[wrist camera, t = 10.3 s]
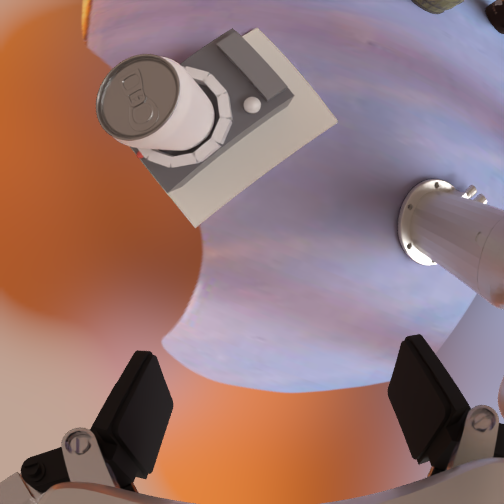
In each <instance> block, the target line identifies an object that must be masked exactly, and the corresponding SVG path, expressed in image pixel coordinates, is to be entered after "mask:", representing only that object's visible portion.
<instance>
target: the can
mask: <svg viewBox="0 0 504 504" xmlns="http://www.w3.org/2000/svg"><path fill="white" fill-rule="evenodd" d="M96 113H97V117H98V120H99V122H100V125H101V126H102V127H103V129H104V130H105V131H106V132H107V133H108V134H109V135H111V136H112V137H113V138H115V139H116V140H117V141H118V142H120V143H122V144H124V145H127V146H130V147H135V148H146V149H161V150H178V151H183V150H189V149H191V148H194V147H196V146H197V145H199V144H200V143H202V142H203V141H204V140H205V139H206V138H207V137H208V136H209V134H210V133H211V131H212V128H213V126H214V121H215V112H214V108H213V105H212V103H211V101H210V100H209V98H208V97H207V95H206V94H205V93H204V92H203V90H202V89H201V88H200V87H199V85H198V84H197V83H196V82H195V80H194V79H193V78H192V77H191V76H190V74H189V73H188V72H187V71H186V70H185V69H184V68H183V67H182V66H181V65H180V64H178V63H177V62H175V61H174V60H171V59H169V58H166V57H161V56H157V55H152V54H141V55H136V56H133V57H130V58H128V59H126V60H124V61H122V62H120V63H119V64H118V65H116V66H115V67H114V68H113V69H112V70H111V71H110V72H109V73H108V74H107V76H106V77H105V79H104V80H103V82H102V84H101V86H100V88H99V91H98V94H97V99H96Z"/></svg>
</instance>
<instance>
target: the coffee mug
mask: <svg viewBox="0 0 504 504" xmlns="http://www.w3.org/2000/svg"><path fill="white" fill-rule="evenodd" d="M485 12H486V15H487V17H488V19H489V21H490V22H491V24H492V25H493V26H494V28H495V29H496V30H497V31H498V32H500V33H501V34H504V0H496V1H495V2H493V3H492V4H490V5H489V6H488V7H486V8H485Z"/></svg>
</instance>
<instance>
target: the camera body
mask: <svg viewBox="0 0 504 504" xmlns="http://www.w3.org/2000/svg"><path fill="white" fill-rule="evenodd" d="M180 65H181V66H182V67H183V68H184V69H185V70H186V71H187V72H188V73H189V74H190V76H191V77H192V78H193V79H194V80H195V82H196V83H197V84H198V85H199V87H200V88H201V89H202V90H203V92H204V93H205V94H206V95H207V97H208V98H209V100H210V101H211V103H212V105H213V108H214V112H215V121H214V126H213V128H212V131H211V133H210V134H209V136H208V137H207V138H206V139H205V140H204V141H203V142H202V143H200V144H199V145H197V146H196V147H194V148H191V149H189V150H183V151H178V150H161V149H146V148H135V147H131V148H132V150H133V151H134V152H135V153H136V155H137V157H138V158H140V160H141V161H142V162H143V163H144V165H145V166H146V167H147V169H148V170H149V171H150V172H151V174H152V175H153V176H154V177H155V179H156V180H157V181H158V182H159V184H160V185H161V186H162V187H163V189H164V190H165V191H166V192H167V193H169V192H171V191H174V190H176V189H178V188H181V187H182V186H184V185H185V184H186V183H187V182H188V181H189V180H191V179H192V178H193V177H194V176H195V175H197V174H198V173H199V172H200V171H201V170H203V169H204V168H205V167H206V166H208V165H209V164H210V163H211V162H213V161H214V160H215V159H216V158H218V157H219V156H220V155H221V154H223V153H224V152H225V151H227V150H228V149H229V148H230V147H232V146H233V145H234V144H236V143H237V142H238V141H240V140H241V139H242V138H244V137H245V136H246V135H248V134H249V133H250V132H252V131H253V130H254V129H256V128H257V127H259V126H260V125H261V124H263V123H264V122H266V121H267V120H268V119H270V118H271V117H273V116H274V115H276V114H277V113H279V112H280V111H281V110H283V109H284V108H286V107H287V106H288V105H289V103H290V102H291V100H292V99H293V97H294V94H293V93H292V92H291V91H290V89H289V88H288V86H287V85H286V84H285V83H284V81H283V80H282V79H281V78H280V77H279V76H278V75H277V73H276V72H275V71H274V70H273V69H272V68H271V67H270V66H269V64H268V63H267V62H266V61H265V60H264V59H263V58H262V57H261V56H260V55H259V54H258V53H257V52H256V51H255V50H254V48H253V47H252V46H251V45H250V44H249V43H248V42H247V41H246V40H245V39H244V38H243V37H242V36H241V35H240V34H239V33H238V32H237V31H235V30H234V29H233V28H232V29H230V30H229V31H227V32H226V33H224V34H222V35H221V36H219V37H218V38H216V39H215V40H213V41H212V42H210V43H209V44H207V45H206V46H204V47H203V48H202V49H200V50H199V51H197V52H196V53H195V54H193V55H192V56H190V57H189V58H188V59H186V60H185V61H184V62H182V63H181V64H180Z"/></svg>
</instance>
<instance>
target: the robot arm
mask: <svg viewBox="0 0 504 504" xmlns="http://www.w3.org/2000/svg"><path fill="white" fill-rule="evenodd" d="M476 192H477V190H476V188H475V187H474V186H473V185H471V186H469V187H468V188H467V189H466V191H465V192H459V191H457V190H456V189H455V188H454V187H453V186H452V185H451V184H450V183H448V182H446V181H443V180H439V179H429V180H425V181H423V182H421V183H419V184H417V185H416V186H415V187H414V188H413V189H412V190H411V191H410V192H409V193H408V195H407V196H406V198H405V200H404V202H403V204H402V207H401V209H400V214H399V218H398V235H399V240H400V243H401V246H402V248H403V250H404V251H405V253H406V254H407V255H408V256H409V257H410V258H411V259H412V260H414V261H415V262H417V263H419V264H422V265H428V266H429V265H435V264H438V265H440V266H441V267H442V268H444V269H445V270H447V271H448V272H449V273H451V274H452V275H454V276H455V277H456V278H458V279H459V280H460V281H462V282H463V283H464V284H466V285H467V286H468V287H470V288H471V289H472V290H474V291H475V292H476V293H478V294H479V295H480V296H481V297H483V298H484V299H486V300H487V301H488V302H489V303H491V304H492V305H493V306H495V307H497V308H500V309H504V210H502V209H499V208H496V207H493V206H490V205H487V200H486V198H485V197H484V196H483V195H482V194H479V195H478V196H477V197H476V198H475V199H474V200H471V199H470V198H471V197H472V196H474V195H475V194H476ZM388 397H389V399H390V401H391V404H392V406H393V409H394V411H395V413H396V416H397V419H398V421H399V424H400V426H401V428H402V431H403V433H404V436H405V439H406V442H407V444H408V447H409V450H410V452H411V455H412V457H413V458H414V459H417V462H418V464H422V463H425V462H427V461H430V463H431V466H432V467H431V469H430V471H429V474H428V476H427V478H425V479H422V480H419V481H416V482H413V483H410V484H407V485H403V486H400V487H397V488H394V489H390V490H387V491H383V492H379V493H375V494H371V495H367V496H362V497H358V498H353V499H348V500H342V501H336V502H329V503H323V504H504V424H501V423H499V418H498V415H497V413H496V411H495V410H494V409H492V408H491V407H489V406H486V405H478V406H475V407H474V408H472V409H471V408H470V406H469V404H468V403H467V401H466V399H465V398H464V396H463V395H462V393H461V392H460V390H459V388H458V387H457V385H456V384H455V383H454V381H453V379H452V378H451V377H450V375H449V373H448V372H447V370H446V369H445V368H444V366H443V365H442V363H441V362H440V360H439V359H438V357H437V356H436V355H435V353H434V352H433V350H432V349H431V348H430V346H429V345H428V343H427V342H426V341H425V339H424V338H423V337H422V335H420V334H418V335H413V336H408V337H406V338H405V341H402V343H401V346H400V350H399V353H398V357H397V361H396V364H395V368H394V371H393V374H392V378H391V381H390V384H389V387H388ZM498 406H499V410H500V412H501V415H502V417H503V418H504V377H503V380H502V382H501V385H500V388H499V393H498ZM172 409H173V400H172V398H171V395H170V392H169V390H168V387H167V384H166V382H165V380H164V377H163V374H162V371H161V368H160V365H159V362H158V360H157V357H156V356H155V355H153V354H152V353H151V352H150V351H136V352H135V353H134V355H133V356H132V358H131V360H130V361H129V363H128V365H127V366H126V368H125V370H124V372H123V373H122V375H121V377H120V378H119V380H118V382H117V383H116V384H115V386H114V388H113V389H112V391H111V393H110V395H109V396H108V398H107V400H106V402H105V404H104V405H103V407H102V409H101V411H100V412H99V414H98V416H97V418H96V420H95V422H94V423H93V425H92V427H91V429H90V430H88V429H86V428H75V429H72V430H70V431H69V432H67V433H66V434H65V436H64V437H63V440H62V442H61V443H62V447H60V448H57V449H54V450H51V451H48V452H45V453H42V454H39V455H36V456H33V457H30V458H28V459H27V460H26V461H24V463H23V465H22V468H21V473H20V474H19V473H18V472H16V473H14V474H13V475H12V476H10V477H8V478H7V479H5V480H4V481H2V482H1V483H0V504H194V503H187V502H181V501H174V500H169V499H164V498H158V497H153V496H148V495H144V494H140V493H138V491H137V489H136V487H135V485H134V483H133V482H134V479H135V477H139V478H143V479H146V478H147V475H148V473H149V474H150V473H151V472H152V471H153V468H154V465H155V462H156V459H157V456H158V452H159V449H160V446H161V443H162V440H163V437H164V434H165V431H166V428H167V425H168V421H169V419H170V416H171V413H172Z"/></svg>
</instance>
